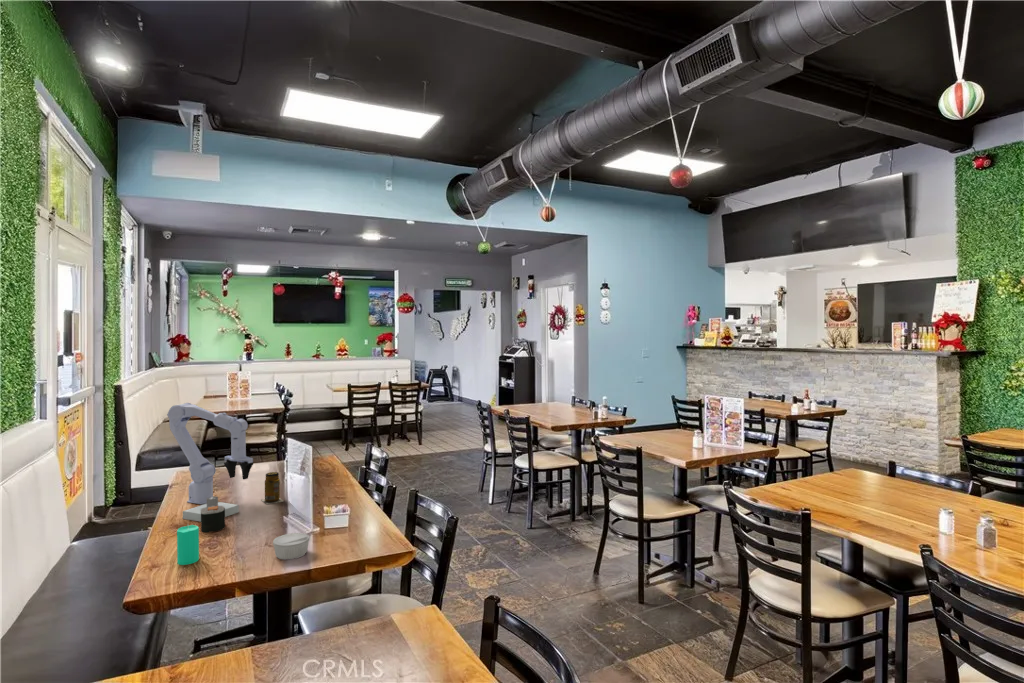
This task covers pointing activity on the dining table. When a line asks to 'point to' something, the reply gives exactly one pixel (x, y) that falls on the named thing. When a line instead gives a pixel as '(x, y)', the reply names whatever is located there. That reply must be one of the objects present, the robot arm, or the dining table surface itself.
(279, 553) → the ramekin
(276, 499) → the condiment
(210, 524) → the sushi
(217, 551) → the dining table surface
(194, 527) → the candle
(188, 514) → the socket
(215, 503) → the peg
